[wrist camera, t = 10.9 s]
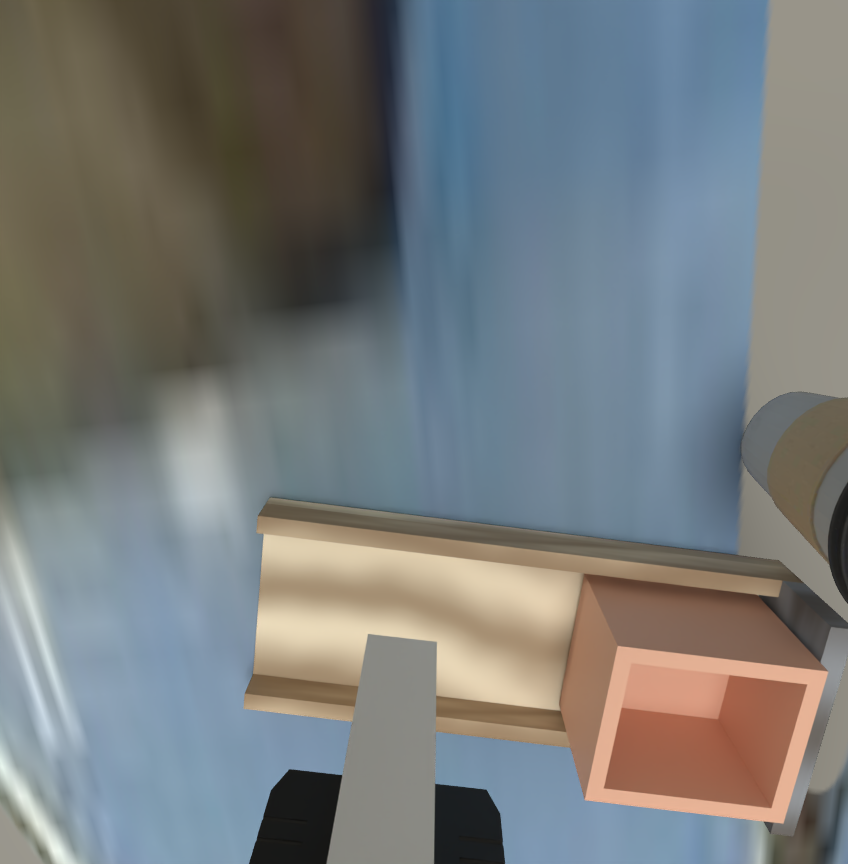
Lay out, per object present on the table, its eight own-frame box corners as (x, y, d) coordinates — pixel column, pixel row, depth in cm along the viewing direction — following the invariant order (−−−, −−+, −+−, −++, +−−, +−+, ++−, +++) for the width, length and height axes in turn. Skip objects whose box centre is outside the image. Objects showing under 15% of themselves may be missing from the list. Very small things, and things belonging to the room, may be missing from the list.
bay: (270, 497, 42) (232, 553, 34) (779, 560, 43) (855, 630, 35) (256, 678, 45) (218, 768, 37) (732, 736, 45) (793, 836, 38)
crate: (584, 573, 41) (617, 645, 34) (757, 594, 42) (828, 671, 34) (558, 704, 44) (584, 800, 36) (723, 723, 44) (783, 823, 36)
